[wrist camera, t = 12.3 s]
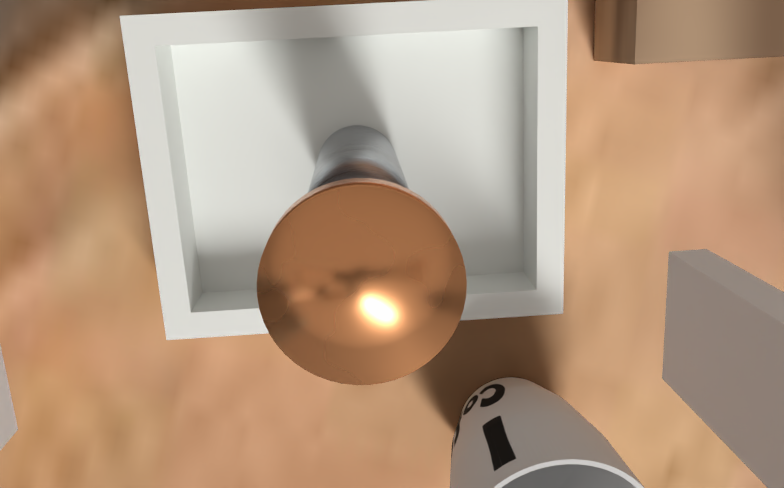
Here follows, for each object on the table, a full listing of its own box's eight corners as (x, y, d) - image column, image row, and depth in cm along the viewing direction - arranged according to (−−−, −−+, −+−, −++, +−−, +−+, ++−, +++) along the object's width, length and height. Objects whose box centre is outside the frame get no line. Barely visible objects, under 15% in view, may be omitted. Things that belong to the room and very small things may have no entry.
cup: (473, 326, 36) (516, 429, 27) (613, 383, 38) (703, 502, 28) (405, 459, 38) (422, 600, 29) (541, 510, 39) (602, 661, 30)
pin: (308, 219, 34) (267, 391, 17) (299, 114, 32) (245, 192, 16) (412, 213, 34) (469, 378, 17) (407, 108, 32) (464, 180, 16)
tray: (183, 312, 35) (166, 340, 32) (143, 17, 32) (119, 15, 28) (544, 288, 36) (563, 313, 33) (546, -3, 32) (567, -7, 29)
